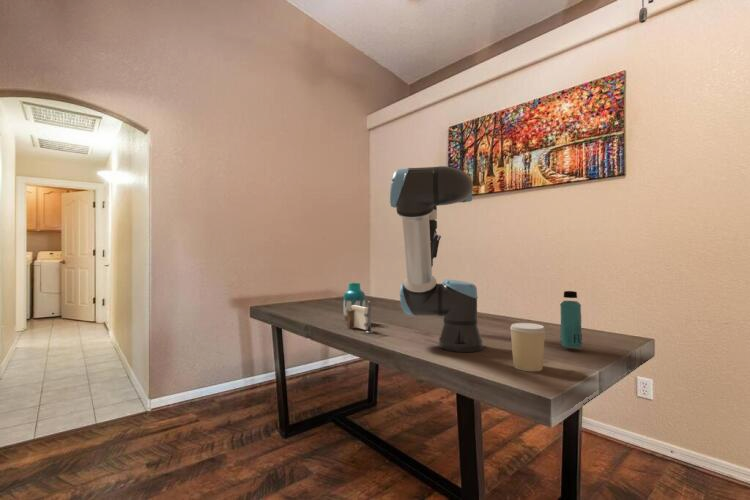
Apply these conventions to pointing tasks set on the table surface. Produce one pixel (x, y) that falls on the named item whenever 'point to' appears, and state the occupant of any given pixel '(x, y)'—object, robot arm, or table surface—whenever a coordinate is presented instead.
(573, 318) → the beverage bottle
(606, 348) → the table surface
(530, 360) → the coffee cup
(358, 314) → the gate
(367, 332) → the hinge post
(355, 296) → the vase
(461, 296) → the robot arm
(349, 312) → the stile post
